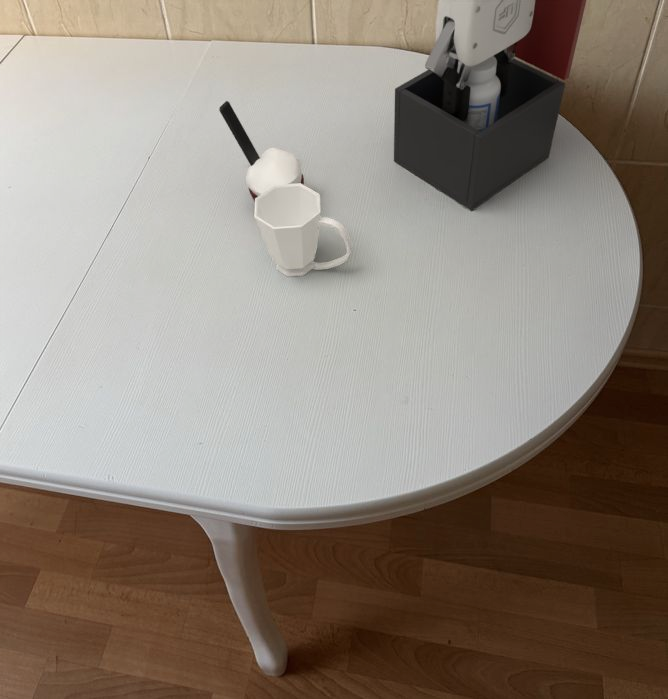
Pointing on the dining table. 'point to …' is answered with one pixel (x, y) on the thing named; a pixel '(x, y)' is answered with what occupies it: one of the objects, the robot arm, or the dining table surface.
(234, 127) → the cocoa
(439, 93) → the dark open-top bin
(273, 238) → the cup
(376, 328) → the dining table surface
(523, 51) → the bin lid
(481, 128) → the pill bottle
